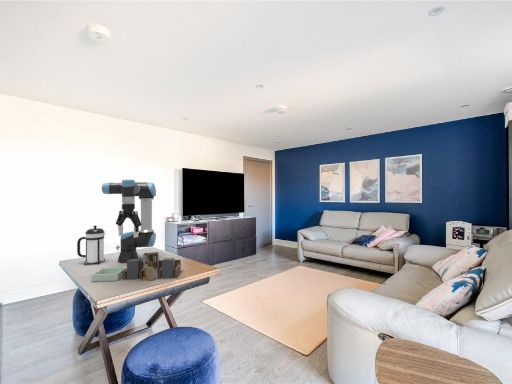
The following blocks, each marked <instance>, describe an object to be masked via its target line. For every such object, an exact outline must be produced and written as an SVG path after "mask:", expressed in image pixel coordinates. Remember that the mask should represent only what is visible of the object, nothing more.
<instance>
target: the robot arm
mask: <svg viewBox="0 0 512 384" xmlns="http://www.w3.org/2000/svg"><path fill="white" fill-rule="evenodd" d="M101 193H102V194H104V195H121V210H119V212H118V216H117V218H116V221H115V225H117V226H118V227H117V229H118V237H120V240H119V241H120V252H119V256H118V258H117V262H118V263H120V264H127V261H128V260H129V259H140V258H139V255H138V252H137V248H152V247H154V245H155V243H156V238H157V233H156V232H155V230H154V229H153V200H154V199H155V197H156V196H157V189H156V185H155V183H154V182H148V181H147V182H145V181H143V182H137V181H135V179H128V178H127V179H126V178H125V179H122V180H121V182H103V183H102V185H101ZM136 197H138V199H139V200H140V216H139V212H138V210H135V208H136V204H135V203H136ZM134 210H135V211H134ZM126 219H130V221H131V223H132V224H133V231H128V232H124V224H125V223H124V222H125V221H126Z"/></svg>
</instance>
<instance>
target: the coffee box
mask: <svg viewBox="0 0 512 384" xmlns="http://www.w3.org/2000/svg"><path fill="white" fill-rule="evenodd" d="M159 257H160V256H159V251H157V252H144V253H143V256H142V261H143V278H142V279H143V280H144V279H154V280H155V279H159V278H158V271H159V260H160V259H159Z"/></svg>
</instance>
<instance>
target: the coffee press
mask: <svg viewBox="0 0 512 384" xmlns="http://www.w3.org/2000/svg"><path fill="white" fill-rule="evenodd" d="M84 235H85V236H81V237H80V238H78V240H77V243H76V244H77V246H76V253H77V256H78V257H80V258H85V261H84V262H83V263H84V264H83V265H84V266H87V265H88V264H95V263H96V264H97V265H101V262H105V261H106V258H105V253H104V251H105V250H104V249H105V245H104V244H105V236H106V235H107V234H106V232H105V230H104V229H103V228H99V227H97V225H96V224H95V225H93V228H89V229H87V230H86V231H85V234H84ZM83 240H85V254H81V241H83Z"/></svg>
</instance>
